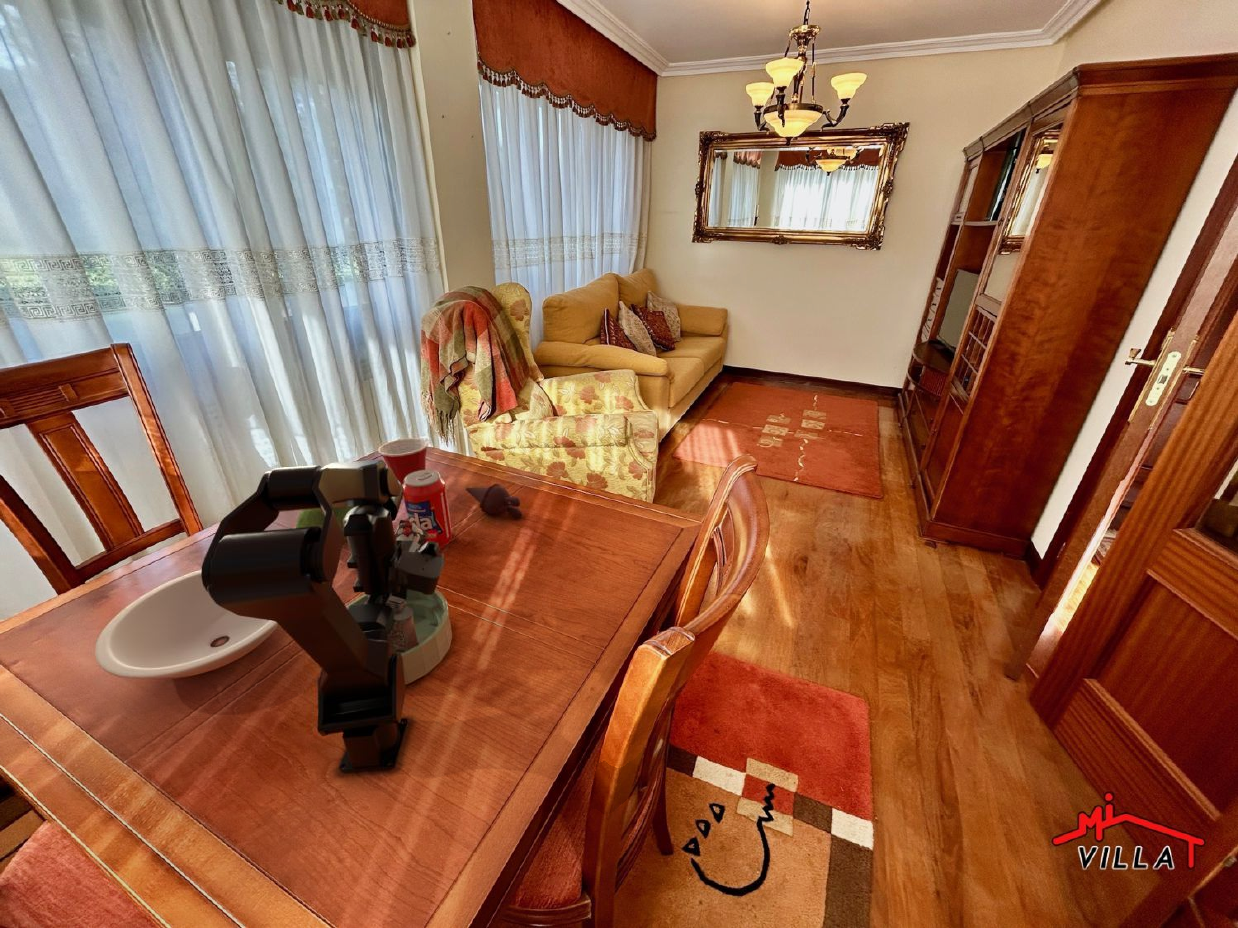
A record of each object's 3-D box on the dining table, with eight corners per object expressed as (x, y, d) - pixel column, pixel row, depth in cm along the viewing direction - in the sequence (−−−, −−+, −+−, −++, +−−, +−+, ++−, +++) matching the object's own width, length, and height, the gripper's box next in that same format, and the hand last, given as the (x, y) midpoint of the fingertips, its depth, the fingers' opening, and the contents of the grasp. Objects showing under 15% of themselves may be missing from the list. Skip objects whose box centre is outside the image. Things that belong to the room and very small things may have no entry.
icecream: (452, 487, 109) (508, 510, 104) (473, 467, 114) (528, 487, 109) (459, 509, 114) (513, 532, 109) (479, 489, 118) (532, 509, 113)
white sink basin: (341, 624, 81) (332, 593, 78) (160, 744, 62) (139, 708, 59) (261, 573, 91) (250, 543, 89) (86, 662, 73) (65, 628, 70)
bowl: (439, 689, 71) (434, 659, 68) (318, 697, 69) (308, 666, 66) (460, 608, 85) (456, 581, 82) (361, 613, 83) (353, 585, 81)
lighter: (366, 646, 76) (352, 596, 72) (382, 631, 79) (370, 581, 75) (410, 661, 74) (399, 609, 70) (425, 644, 77) (415, 594, 72)
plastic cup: (425, 475, 127) (418, 431, 122) (442, 492, 120) (435, 446, 114) (380, 487, 121) (371, 442, 115) (395, 506, 113) (386, 458, 108)
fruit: (348, 513, 110) (338, 473, 106) (386, 521, 108) (378, 481, 103) (289, 552, 97) (275, 508, 93) (331, 563, 95) (319, 518, 90)
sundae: (423, 599, 87) (409, 527, 80) (388, 593, 88) (372, 521, 81) (442, 575, 92) (431, 506, 86) (409, 570, 94) (396, 501, 87)
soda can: (461, 537, 103) (452, 473, 97) (432, 558, 97) (420, 491, 90) (433, 527, 106) (423, 464, 100) (403, 546, 100) (390, 480, 93)
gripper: (416, 588, 61) (433, 678, 68) (448, 507, 77) (459, 586, 84) (320, 592, 60) (347, 683, 67) (373, 509, 76) (390, 589, 83)
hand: (393, 629), depth 75 cm, fingers open, 9 cm apart
